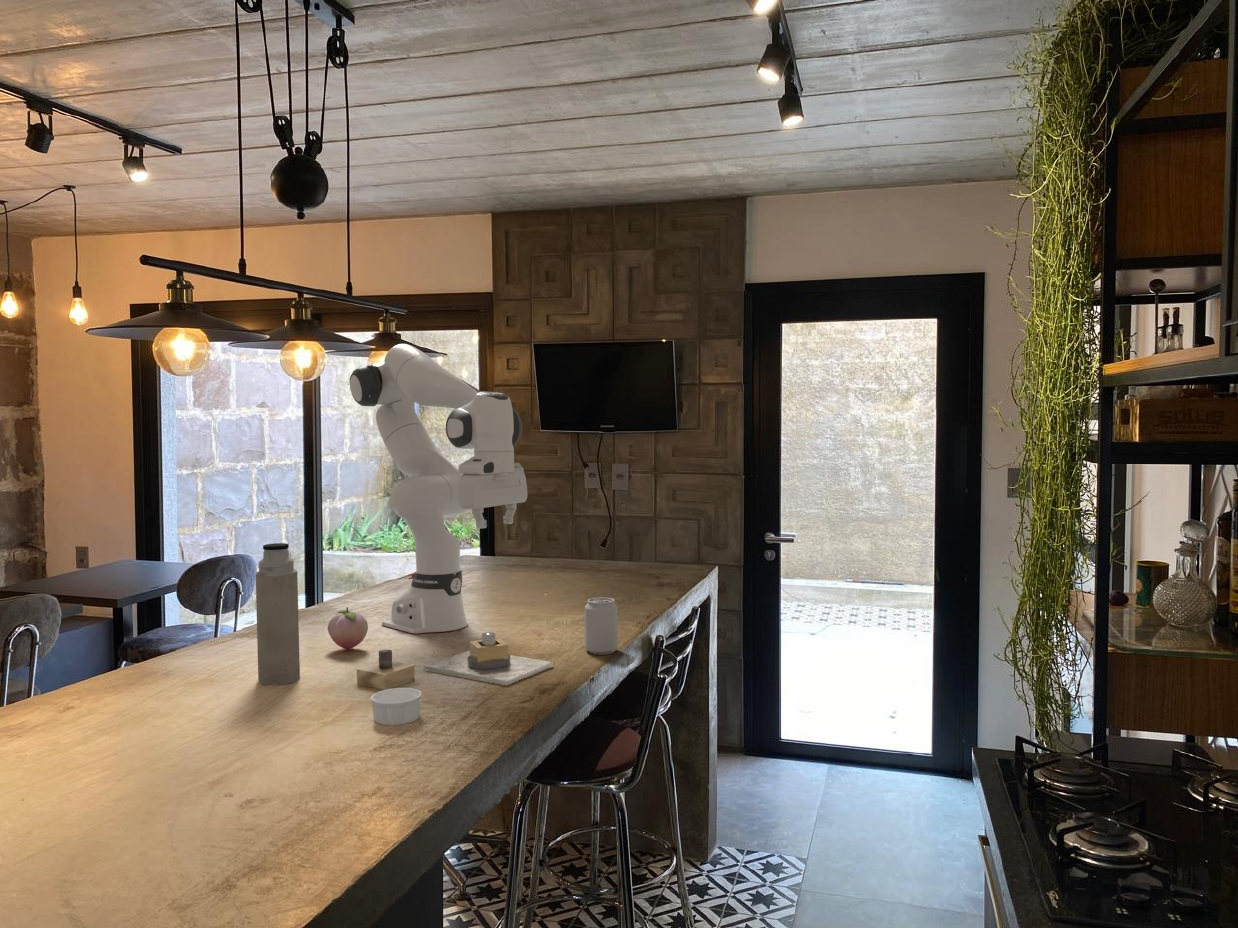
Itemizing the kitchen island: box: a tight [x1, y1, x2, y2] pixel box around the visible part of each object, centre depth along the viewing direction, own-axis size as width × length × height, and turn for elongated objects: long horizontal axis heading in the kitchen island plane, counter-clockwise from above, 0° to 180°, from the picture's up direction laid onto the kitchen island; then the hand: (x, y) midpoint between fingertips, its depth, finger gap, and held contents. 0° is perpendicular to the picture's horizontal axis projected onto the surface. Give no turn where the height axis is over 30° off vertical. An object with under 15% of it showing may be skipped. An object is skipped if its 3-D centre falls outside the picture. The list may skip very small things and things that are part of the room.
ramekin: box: [370, 687, 423, 726], centre depth 160 cm, size 9×9×4 cm
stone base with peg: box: [423, 631, 554, 687], centre depth 192 cm, size 22×16×8 cm
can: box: [584, 596, 619, 656], centre depth 205 cm, size 8×8×12 cm
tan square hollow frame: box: [469, 637, 509, 662], centre depth 192 cm, size 7×7×3 cm
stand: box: [356, 648, 416, 690], centre depth 182 cm, size 8×8×6 cm
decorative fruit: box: [327, 606, 369, 651], centre depth 208 cm, size 9×8×10 cm
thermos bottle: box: [255, 542, 301, 686], centre depth 184 cm, size 8×8×28 cm
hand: (495, 525), depth 202 cm, fingers open, 8 cm apart
